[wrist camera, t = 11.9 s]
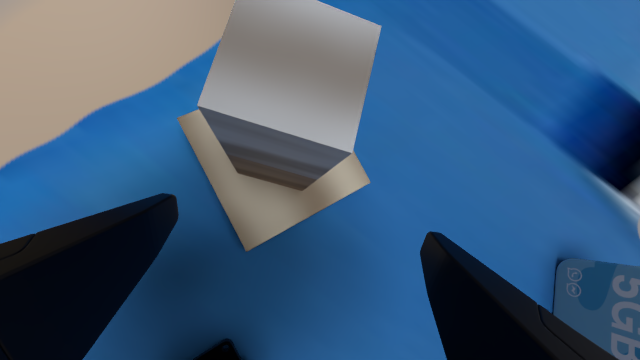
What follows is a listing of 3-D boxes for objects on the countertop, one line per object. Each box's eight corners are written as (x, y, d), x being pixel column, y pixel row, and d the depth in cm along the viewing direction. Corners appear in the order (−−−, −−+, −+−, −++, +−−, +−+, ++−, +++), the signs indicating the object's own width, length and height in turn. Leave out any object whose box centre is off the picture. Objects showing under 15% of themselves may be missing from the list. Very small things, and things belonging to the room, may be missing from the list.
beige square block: (248, 247, 22) (246, 251, 19) (188, 131, 22) (176, 117, 19) (358, 186, 24) (370, 182, 22) (302, 84, 25) (307, 66, 22)
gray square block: (302, 191, 20) (352, 153, 9) (237, 173, 19) (197, 105, 8) (317, 131, 21) (381, 26, 10) (256, 112, 20) (246, -28, 9)
